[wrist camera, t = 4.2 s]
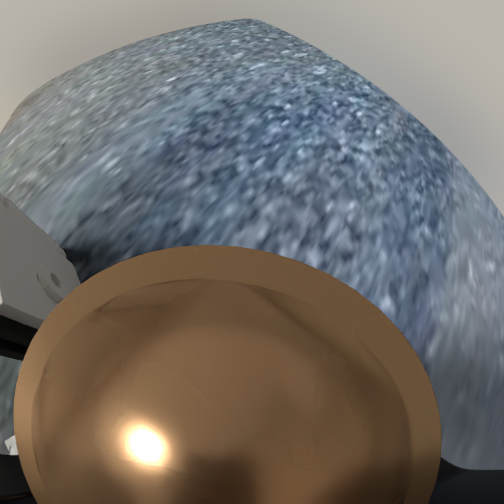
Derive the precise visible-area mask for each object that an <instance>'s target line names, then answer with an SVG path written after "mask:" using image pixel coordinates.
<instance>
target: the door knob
mask: <svg viewBox="0 0 504 504" xmlns="http://www.w3.org/2000/svg"><path fill="white" fill-rule="evenodd" d="M14 431H15V439H16V446H17V451H18V455H19V459H20V462H21V466H22V469H23V472H24V475H25V478H26V480H27V483H28V485H29V487H30V490H31V492H32V494H33V496H34V498H35V500H36V501H37V503H38V504H428V502H429V500H430V497H431V494H432V492H433V489H434V486H435V483H436V479H437V474H438V469H439V464H440V458H441V423H440V416H439V410H438V404H437V401H436V398H435V394H434V391H433V388H432V385H431V382H430V379H429V377H428V375H427V373H426V371H425V369H424V367H423V365H422V363H421V361H420V359H419V357H418V355H417V354H416V352H415V351H414V349H413V348H412V346H411V345H410V344H409V342H408V341H407V339H406V338H405V337H404V335H403V334H402V332H401V331H400V330H399V329H398V328H397V327H396V326H395V325H394V324H393V323H392V322H391V321H390V320H389V318H388V317H387V316H386V315H385V314H384V313H383V312H382V311H381V310H380V309H379V308H377V307H376V306H375V305H374V304H372V303H371V302H370V301H369V300H367V299H366V298H365V297H363V296H362V295H361V294H360V293H358V292H357V291H356V290H354V289H353V288H351V287H349V286H348V285H346V284H344V283H343V282H341V281H339V280H337V279H336V278H334V277H332V276H331V275H329V274H327V273H325V272H322V271H320V270H318V269H316V268H313V267H311V266H309V265H307V264H304V263H302V262H300V261H297V260H293V259H290V258H287V257H283V256H280V255H277V254H273V253H270V252H266V251H260V250H254V249H248V248H242V247H236V246H217V245H197V246H184V247H173V248H168V249H163V250H158V251H153V252H148V253H145V254H142V255H139V256H136V257H133V258H130V259H127V260H124V261H121V262H119V263H117V264H115V265H113V266H111V267H109V268H107V269H105V270H103V271H101V272H99V273H97V274H95V275H94V276H92V277H91V278H89V279H88V280H86V281H85V282H83V283H82V284H81V285H79V286H78V287H76V288H75V289H74V290H73V291H72V292H71V293H69V294H68V295H67V296H66V297H65V298H64V299H63V300H62V301H61V302H60V303H58V305H57V306H56V307H55V308H54V309H53V311H52V312H51V313H50V314H49V315H48V317H47V318H46V319H45V320H44V321H43V323H42V325H41V326H40V328H39V329H38V331H37V333H36V334H35V336H34V338H33V339H32V341H31V343H30V345H29V348H28V350H27V352H26V355H25V357H24V359H23V362H22V365H21V369H20V372H19V376H18V380H17V384H16V392H15V400H14Z"/></svg>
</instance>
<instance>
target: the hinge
mask: <svg viewBox="0 0 504 504" xmlns="http://www.w3.org/2000/svg"><path fill="white" fill-rule="evenodd" d="M79 285H81V283H80V281H79V279H78V276H77V274H76V271H75V268H74V266H73V264H72V263H71V262H70V261H68V260H67V259H66V254H65V252H64V250H63V249H61V248H60V247H59V246H57V244H56V241H55V240H53V239H52V238H51V237H50V236H49V235H48V234H46V233H45V232H44V231H43V230H42V229H41V228H40V227H39V226H37V225H36V224H35V223H34V222H33V221H32V220H31V219H30V218H29V217H28V216H27V215H25V214H24V213H23V212H22V211H21V210H20V209H19V208H18V207H17V206H16V205H15V204H14V203H13V202H12V201H11V200H10V199H8V198H6V197H4V196H2V194H1V193H0V355H1V356H5V357H9V358H13V359H17V360H22V361H23V359H24V357H25V355H26V352H27V350H28V348H29V345H30V343H31V341H32V339H33V338H34V336H35V334H36V333H37V331H38V329H39V328H40V326H41V325H42V323H43V321H44V320H45V319H46V318H47V317H48V315H49V314H50V313H51V312H52V311H53V309H54V308H55V307H56V306H57V305H58V303H60V302H61V301H62V300H63V299H64V298H65V297H66V296H67V295H68V294H69V293H71V292H72V291H73V290H74V289H75V288H76V287H78V286H79Z"/></svg>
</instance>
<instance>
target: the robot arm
mask: <svg viewBox="0 0 504 504" xmlns="http://www.w3.org/2000/svg"><path fill="white" fill-rule="evenodd" d="M0 504H38V503H37V501H36V500H35V498H34V496H33V494H32V492H31V490H30V487H29V485H28V483H27V480H26V478H25V475H24V472H23V469H22V466H21V462H20V459H19V455H3V454H0ZM428 504H504V470H470V469H463V468H460V467H457V466H455V465H453V464H451V463H449V462H448V461H446V460H444V459H443V458H440V464H439V469H438V474H437V479H436V483H435V486H434V489H433V492H432V494H431V497H430V500H429V502H428Z"/></svg>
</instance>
